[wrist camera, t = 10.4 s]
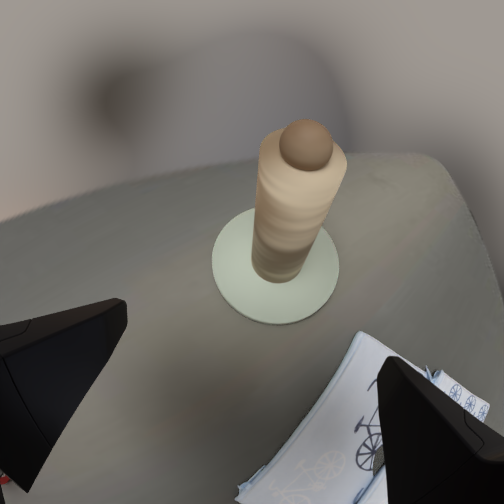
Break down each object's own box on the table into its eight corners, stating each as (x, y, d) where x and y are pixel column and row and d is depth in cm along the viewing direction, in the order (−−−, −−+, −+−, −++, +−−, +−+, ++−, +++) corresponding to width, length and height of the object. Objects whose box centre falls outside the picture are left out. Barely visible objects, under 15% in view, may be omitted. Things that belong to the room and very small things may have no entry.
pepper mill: (312, 268, 24) (376, 144, 11) (267, 292, 22) (300, 170, 10) (285, 229, 25) (318, 93, 13) (241, 249, 24) (244, 110, 12)
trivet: (355, 254, 25) (358, 249, 25) (291, 351, 21) (294, 350, 20) (261, 193, 28) (262, 187, 27) (187, 273, 24) (185, 268, 23)
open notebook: (391, 551, 11) (400, 558, 9) (227, 491, 16) (226, 500, 14) (483, 405, 18) (496, 404, 17) (357, 317, 23) (367, 311, 21)
